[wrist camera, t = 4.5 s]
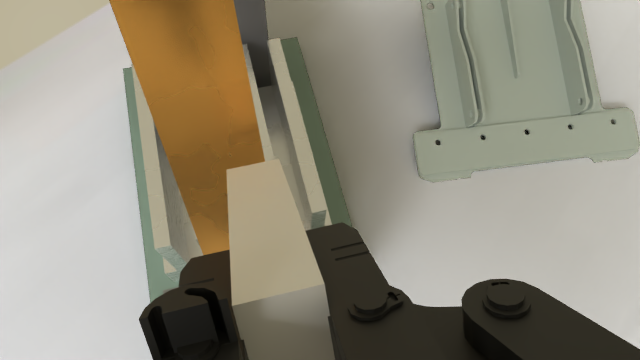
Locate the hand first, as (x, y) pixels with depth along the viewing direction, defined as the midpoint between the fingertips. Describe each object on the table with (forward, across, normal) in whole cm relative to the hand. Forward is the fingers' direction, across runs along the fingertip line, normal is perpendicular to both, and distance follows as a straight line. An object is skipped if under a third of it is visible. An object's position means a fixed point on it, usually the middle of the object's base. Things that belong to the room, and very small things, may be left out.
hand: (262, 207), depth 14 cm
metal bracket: (+19, +18, -3) cm, 26 cm away
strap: (+3, -1, +2) cm, 4 cm away
